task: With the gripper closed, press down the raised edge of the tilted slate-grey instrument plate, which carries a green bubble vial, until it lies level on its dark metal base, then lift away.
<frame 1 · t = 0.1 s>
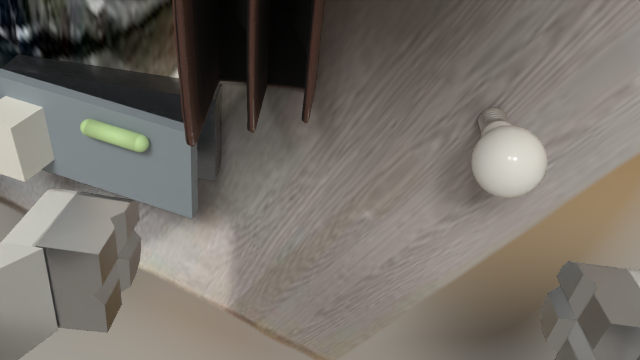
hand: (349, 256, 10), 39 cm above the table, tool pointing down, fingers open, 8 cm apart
level plate: (85, 156, 48), point 8 cm above the table, hinge at 14.0°
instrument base: (125, 113, 54), on the table
lightbulb: (490, 115, 52), on the table
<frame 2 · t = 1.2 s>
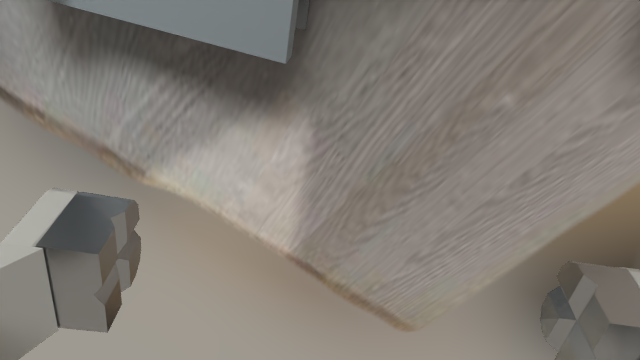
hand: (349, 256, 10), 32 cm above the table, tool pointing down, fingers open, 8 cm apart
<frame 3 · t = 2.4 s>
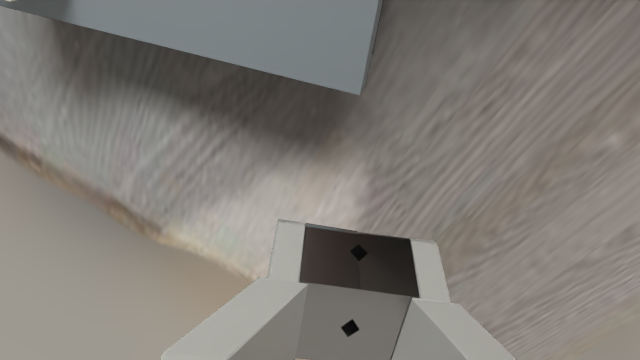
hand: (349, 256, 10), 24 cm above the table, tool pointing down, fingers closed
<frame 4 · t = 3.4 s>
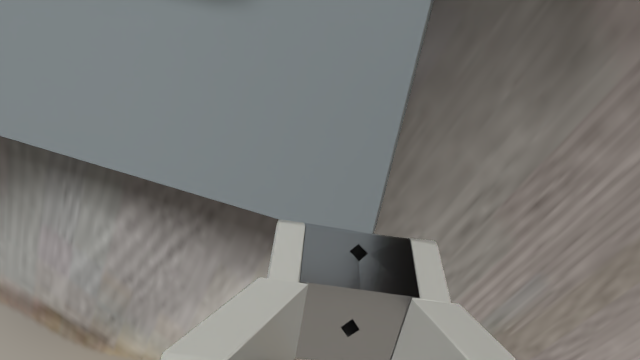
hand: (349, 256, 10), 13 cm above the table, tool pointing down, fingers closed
level plate: (4, 8, 13), point 8 cm above the table, hinge at 14.0°
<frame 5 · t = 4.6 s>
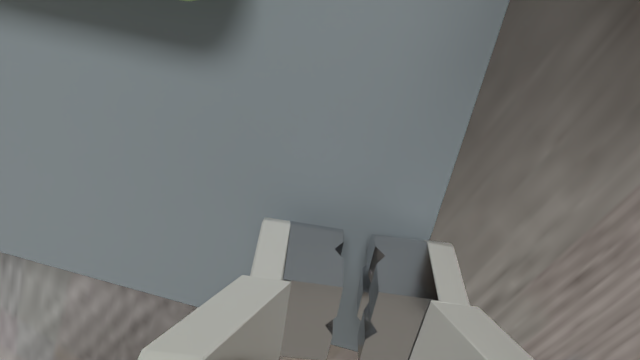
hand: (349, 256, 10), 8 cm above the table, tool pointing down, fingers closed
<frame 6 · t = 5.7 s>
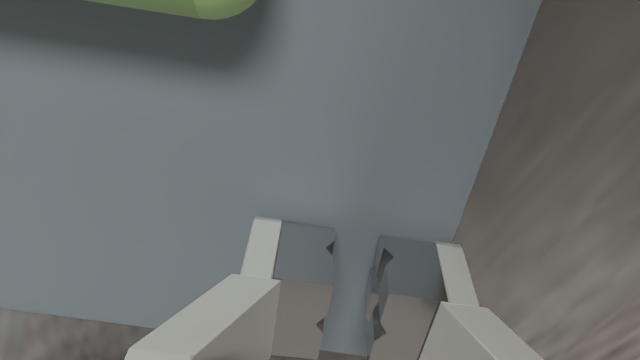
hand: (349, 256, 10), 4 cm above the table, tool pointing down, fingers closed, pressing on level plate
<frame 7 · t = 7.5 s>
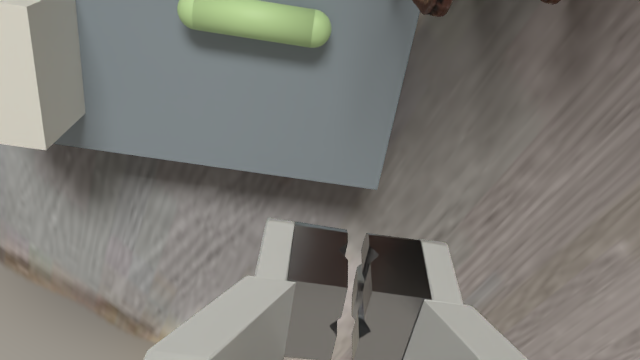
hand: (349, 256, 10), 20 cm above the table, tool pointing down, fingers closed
level plate: (180, 80, 23), point 6 cm above the table, hinge at 0.0°
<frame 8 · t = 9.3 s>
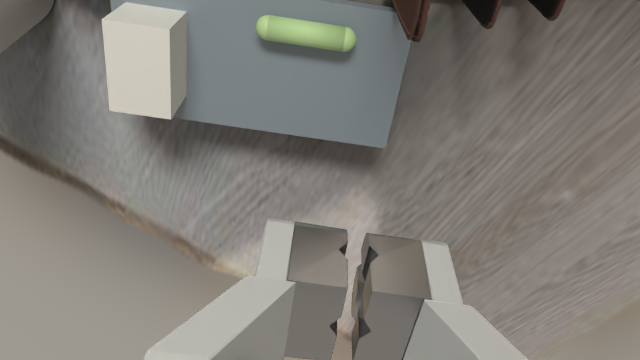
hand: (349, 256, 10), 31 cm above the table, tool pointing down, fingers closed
level plate: (255, 73, 35), point 6 cm above the table, hinge at 0.0°
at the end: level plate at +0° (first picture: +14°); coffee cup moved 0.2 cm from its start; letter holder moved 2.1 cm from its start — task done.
